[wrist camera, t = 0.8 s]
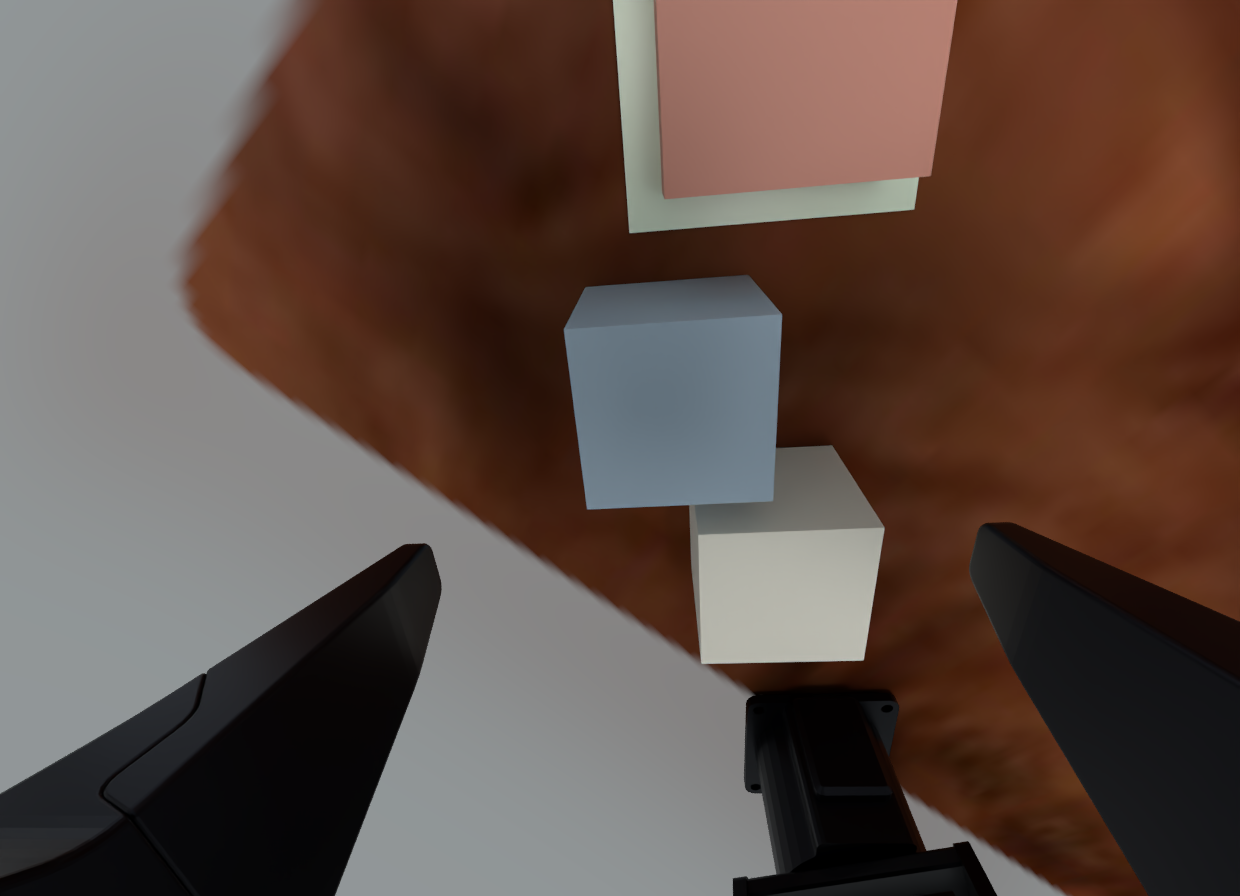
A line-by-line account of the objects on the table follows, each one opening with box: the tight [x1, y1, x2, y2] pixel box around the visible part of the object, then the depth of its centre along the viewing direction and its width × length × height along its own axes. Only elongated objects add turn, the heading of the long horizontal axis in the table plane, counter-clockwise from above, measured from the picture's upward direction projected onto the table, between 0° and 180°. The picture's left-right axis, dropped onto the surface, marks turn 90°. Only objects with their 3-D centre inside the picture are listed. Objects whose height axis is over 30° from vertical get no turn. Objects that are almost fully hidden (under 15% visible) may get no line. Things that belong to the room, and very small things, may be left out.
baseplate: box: [613, 0, 919, 233], centre depth 14 cm, size 8×8×1 cm
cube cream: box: [689, 445, 885, 664], centre depth 19 cm, size 5×5×5 cm
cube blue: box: [564, 275, 782, 509], centre depth 16 cm, size 5×5×5 cm
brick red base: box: [654, 0, 957, 199], centre depth 13 cm, size 6×6×3 cm
